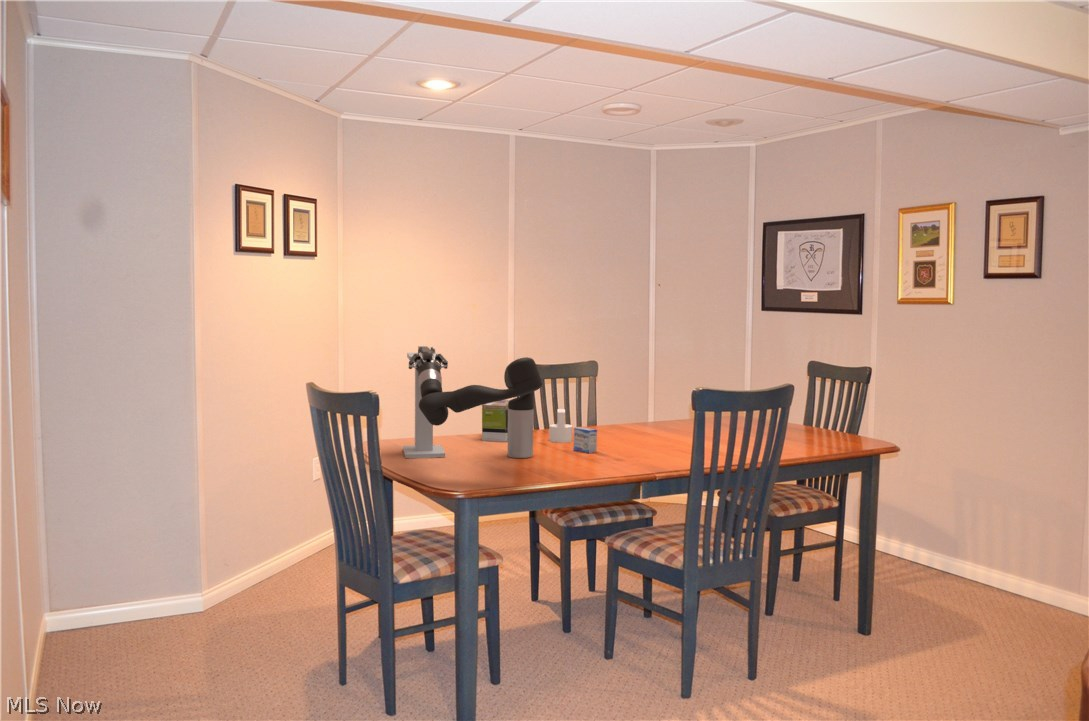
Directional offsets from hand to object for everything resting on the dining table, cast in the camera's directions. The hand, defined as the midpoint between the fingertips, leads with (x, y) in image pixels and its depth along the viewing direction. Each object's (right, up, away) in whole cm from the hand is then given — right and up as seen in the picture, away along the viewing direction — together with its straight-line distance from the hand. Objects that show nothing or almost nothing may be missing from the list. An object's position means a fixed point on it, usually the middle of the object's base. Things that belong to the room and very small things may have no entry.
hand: (426, 349), depth 302 cm
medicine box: (+56, -38, +22) cm, 71 cm away
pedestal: (-3, -38, +13) cm, 40 cm away
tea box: (+23, -35, +46) cm, 62 cm away
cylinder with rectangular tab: (+48, -36, +43) cm, 73 cm away
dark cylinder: (-1, -2, +4) cm, 5 cm away
